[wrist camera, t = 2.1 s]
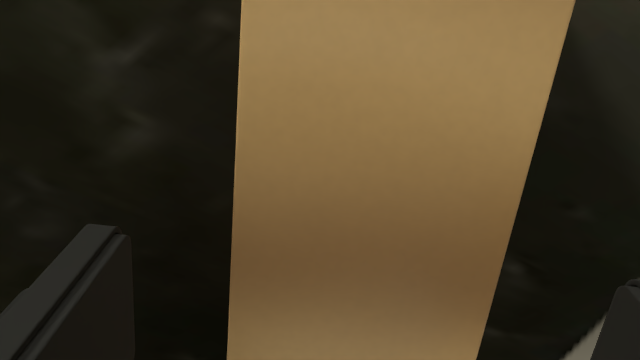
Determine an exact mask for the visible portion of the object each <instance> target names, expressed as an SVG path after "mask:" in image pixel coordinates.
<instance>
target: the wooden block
mask: <svg viewBox="0 0 640 360" xmlns="http://www.w3.org/2000/svg"><path fill="white" fill-rule="evenodd" d="M574 4H575V0H242V4H241V28H240V52H239V77H238V101H237V125H236V149H235V174H234V198H233V222H232V246H231V271H230V295H229V319H228V343H227V360H476V358H477V354H478V351H479V347H480V344H481V340H482V336H483V333H484V329H485V325H486V322H487V318H488V315H489V311H490V307H491V304H492V300H493V297H494V293H495V289H496V286H497V282H498V278H499V275H500V271H501V268H502V264H503V260H504V257H505V253H506V250H507V246H508V242H509V239H510V235H511V231H512V228H513V224H514V221H515V217H516V213H517V210H518V206H519V203H520V199H521V195H522V192H523V188H524V184H525V181H526V177H527V174H528V170H529V166H530V163H531V159H532V156H533V152H534V148H535V145H536V141H537V137H538V134H539V130H540V127H541V123H542V119H543V116H544V112H545V109H546V105H547V101H548V98H549V94H550V90H551V87H552V83H553V80H554V76H555V72H556V69H557V65H558V62H559V58H560V54H561V51H562V47H563V43H564V40H565V36H566V33H567V29H568V25H569V22H570V18H571V15H572V11H573V7H574Z"/></svg>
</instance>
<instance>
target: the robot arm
mask: <svg viewBox="0 0 640 360" xmlns="http://www.w3.org/2000/svg"><path fill="white" fill-rule="evenodd" d="M134 356H135V328H134V301H133V274H132V246H131V238H130V236H129V235H122V231H121V229H120V228H119V227H116V226H106V225H96V224H87V225H86V226H85V227H84V228H83V229H82V230H81V231H80V232H79V233H78V234H77V235H76V237H75V238H74V239H73V240H72V241H71V242H70V243H69V244H68V245H67V246H66V248H65V249H64V250H63V251H62V252H61V253H60V254H59V255H58V256H57V257H56V258H55V260H54V261H53V262H52V263H51V264H50V265H49V266H48V267H47V268H46V269H45V271H44V272H43V273H42V274H41V275H40V276H39V277H38V278H37V279H36V280H35V282H34V283H33V284H32V285H31V286H30V287H29V288H27V289H24V290H23V291H22V292H21V293H20V294H18V295H17V297H16V298H15V299H14V300H13V301H12V302H11V303H10V304H9V305H8V306H7V307H6V308H5V310H4V311H3V312H2V313H1V314H0V360H134ZM590 360H640V280H637V279H632V280H629V281H628V282H627V283H626V284H625V286H620V287H619V288H618V289H617V290H616V292H615V294H614V297H613V300H612V302H611V305H610V308H609V311H608V313H607V316H606V319H605V321H604V324H603V327H602V330H601V332H600V335H599V338H598V341H597V343H596V346H595V349H594V351H593V354H592V357H591V359H590Z"/></svg>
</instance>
